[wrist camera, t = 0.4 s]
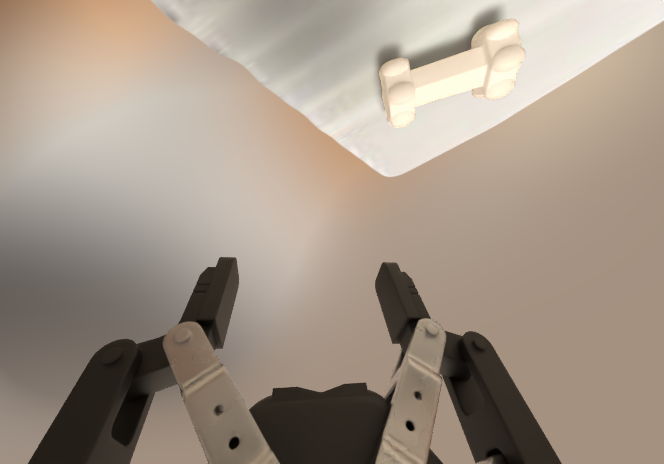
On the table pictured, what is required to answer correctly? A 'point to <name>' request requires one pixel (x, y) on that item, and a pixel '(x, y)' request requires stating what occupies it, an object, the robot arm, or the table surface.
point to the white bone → (455, 73)
